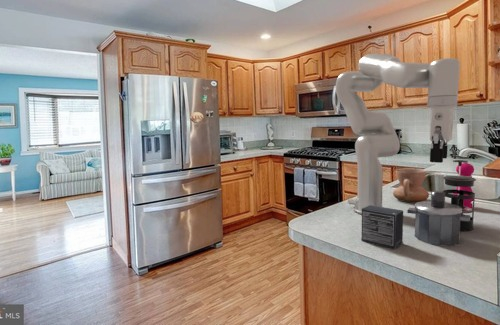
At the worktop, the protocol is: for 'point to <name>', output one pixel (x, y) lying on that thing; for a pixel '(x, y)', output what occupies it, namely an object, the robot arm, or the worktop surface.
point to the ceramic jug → (411, 185)
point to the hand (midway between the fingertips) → (438, 160)
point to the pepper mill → (465, 171)
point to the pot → (437, 228)
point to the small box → (382, 226)
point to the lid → (438, 206)
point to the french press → (461, 195)
